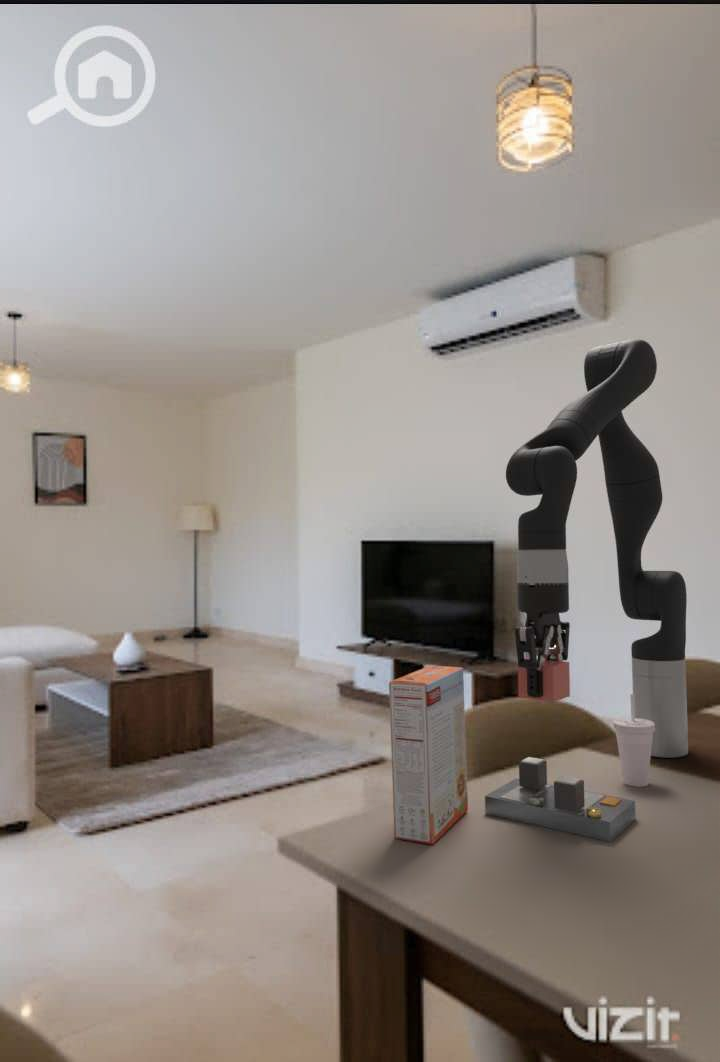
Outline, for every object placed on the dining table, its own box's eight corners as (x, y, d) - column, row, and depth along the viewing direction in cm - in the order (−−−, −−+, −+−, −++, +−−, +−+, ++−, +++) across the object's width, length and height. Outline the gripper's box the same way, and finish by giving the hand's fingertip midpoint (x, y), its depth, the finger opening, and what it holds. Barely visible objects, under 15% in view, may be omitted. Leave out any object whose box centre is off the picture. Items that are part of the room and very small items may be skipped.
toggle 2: (563, 802, 102) (562, 775, 102) (584, 806, 100) (583, 778, 101) (554, 808, 100) (553, 780, 100) (576, 812, 98) (575, 784, 98)
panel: (516, 794, 114) (515, 773, 114) (635, 818, 103) (634, 794, 103) (485, 813, 106) (484, 790, 106) (610, 841, 95) (610, 815, 95)
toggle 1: (528, 780, 112) (527, 756, 112) (547, 784, 110) (546, 759, 110) (519, 786, 110) (518, 760, 110) (538, 789, 108) (537, 764, 108)
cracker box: (430, 806, 110) (427, 664, 111) (469, 812, 107) (466, 666, 108) (389, 839, 98) (386, 679, 98) (432, 846, 95) (429, 682, 95)
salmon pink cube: (535, 692, 115) (534, 659, 115) (569, 696, 111) (569, 662, 112) (518, 697, 111) (517, 663, 111) (553, 701, 107) (553, 666, 107)
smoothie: (650, 777, 122) (648, 691, 122) (662, 789, 115) (659, 699, 116) (610, 776, 122) (607, 691, 123) (619, 789, 116) (617, 699, 116)
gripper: (540, 579, 120) (542, 684, 119) (497, 581, 108) (498, 697, 108) (585, 579, 115) (587, 689, 114) (544, 581, 104) (546, 703, 103)
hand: (544, 693), depth 111 cm, fingers closed on salmon pink cube, 5 cm apart
